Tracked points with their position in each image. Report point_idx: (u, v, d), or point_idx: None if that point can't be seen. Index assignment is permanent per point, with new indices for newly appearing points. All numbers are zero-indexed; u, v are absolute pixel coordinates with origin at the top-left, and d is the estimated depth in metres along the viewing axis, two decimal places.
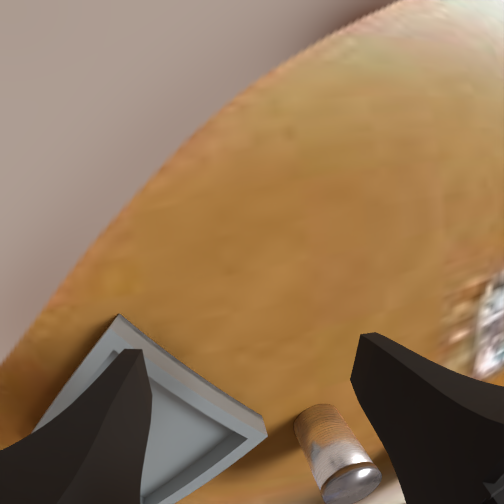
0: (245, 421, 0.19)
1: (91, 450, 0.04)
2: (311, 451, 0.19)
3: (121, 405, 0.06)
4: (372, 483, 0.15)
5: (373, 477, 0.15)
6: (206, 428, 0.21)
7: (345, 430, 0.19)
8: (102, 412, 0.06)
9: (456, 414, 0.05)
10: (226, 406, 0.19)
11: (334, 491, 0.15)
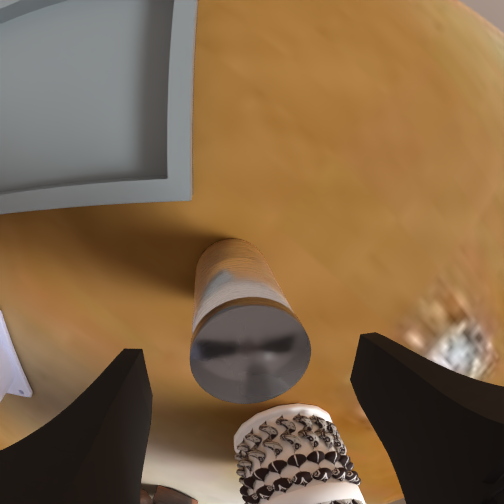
0: (190, 152, 0.13)
1: (91, 450, 0.04)
2: (224, 267, 0.13)
3: (121, 405, 0.06)
4: (278, 380, 0.11)
5: (292, 366, 0.10)
6: (128, 141, 0.14)
7: None
8: (102, 412, 0.06)
9: (456, 414, 0.05)
10: (191, 117, 0.13)
11: (230, 329, 0.10)
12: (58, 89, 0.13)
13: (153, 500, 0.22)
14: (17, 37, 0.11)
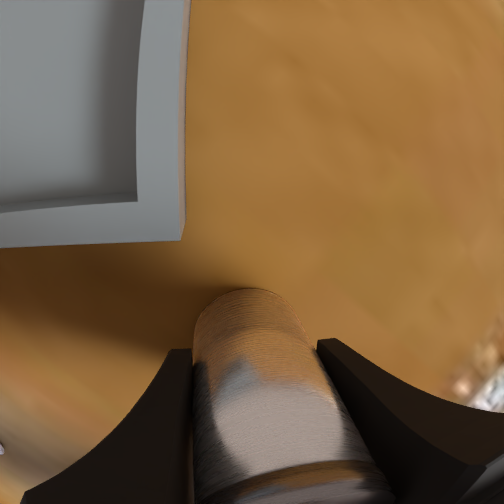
0: (178, 152, 0.07)
1: (172, 456, 0.04)
2: (243, 364, 0.07)
3: (183, 407, 0.07)
4: None
5: None
6: (81, 137, 0.08)
7: None
8: (170, 415, 0.06)
9: (402, 435, 0.05)
10: (181, 90, 0.07)
11: None
12: None
13: None
14: None
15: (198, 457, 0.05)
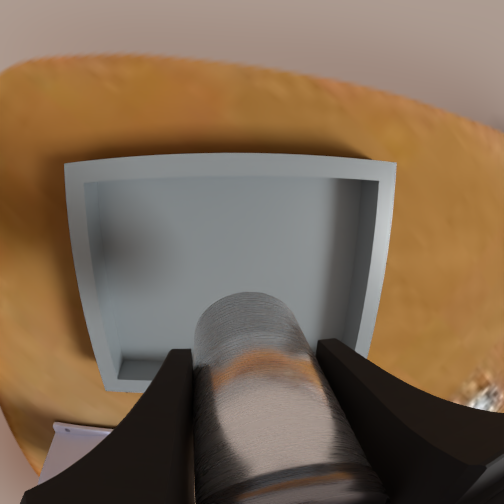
0: None
1: (172, 456, 0.04)
2: (233, 371, 0.07)
3: (183, 407, 0.07)
4: None
5: None
6: (312, 328, 0.19)
7: None
8: (170, 415, 0.06)
9: (402, 435, 0.05)
10: None
11: None
12: (245, 281, 0.17)
13: None
14: (176, 206, 0.15)
15: (196, 463, 0.06)
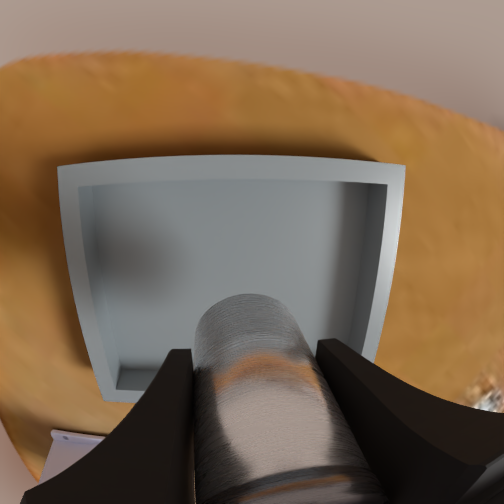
0: None
1: (172, 456, 0.04)
2: (229, 376, 0.07)
3: (183, 407, 0.07)
4: None
5: None
6: (316, 336, 0.18)
7: (323, 375, 0.09)
8: (170, 415, 0.06)
9: (402, 435, 0.05)
10: None
11: None
12: (247, 289, 0.16)
13: None
14: (175, 211, 0.15)
15: (195, 468, 0.06)
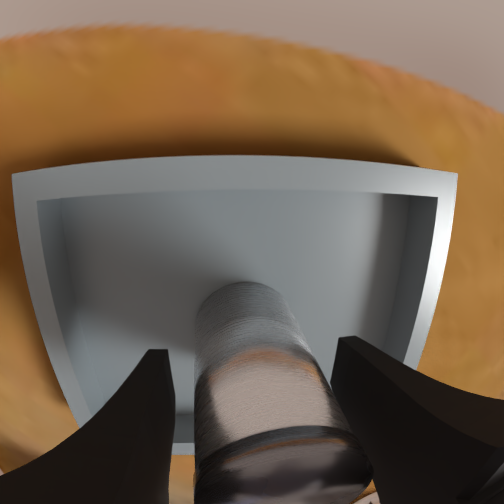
0: None
1: (132, 454, 0.04)
2: (226, 351, 0.08)
3: (153, 406, 0.07)
4: None
5: (347, 491, 0.06)
6: None
7: (313, 354, 0.09)
8: (137, 414, 0.06)
9: (429, 425, 0.05)
10: None
11: (246, 485, 0.05)
12: None
13: None
14: (166, 229, 0.11)
15: (195, 435, 0.07)
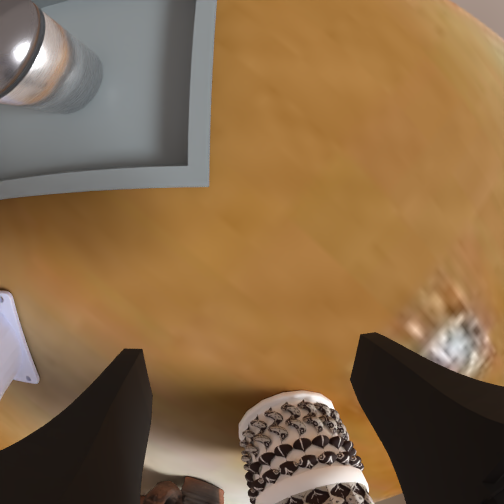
0: (209, 142, 0.14)
1: (91, 450, 0.04)
2: None
3: (121, 405, 0.06)
4: (9, 56, 0.06)
5: (20, 36, 0.06)
6: (148, 131, 0.15)
7: (77, 42, 0.10)
8: (102, 412, 0.06)
9: (456, 414, 0.05)
10: None
11: None
12: None
13: (182, 491, 0.23)
14: None
15: None
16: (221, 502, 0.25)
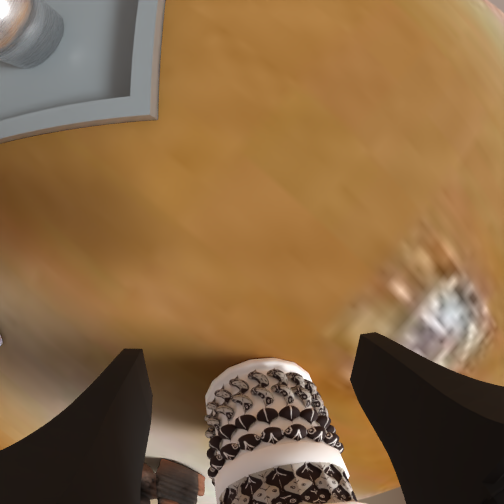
0: (152, 73, 0.13)
1: (91, 450, 0.04)
2: None
3: (121, 405, 0.06)
4: None
5: None
6: (101, 75, 0.14)
7: None
8: (102, 412, 0.06)
9: (456, 414, 0.05)
10: (156, 46, 0.13)
11: None
12: None
13: (156, 474, 0.22)
14: None
15: None
16: (201, 489, 0.23)
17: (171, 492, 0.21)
